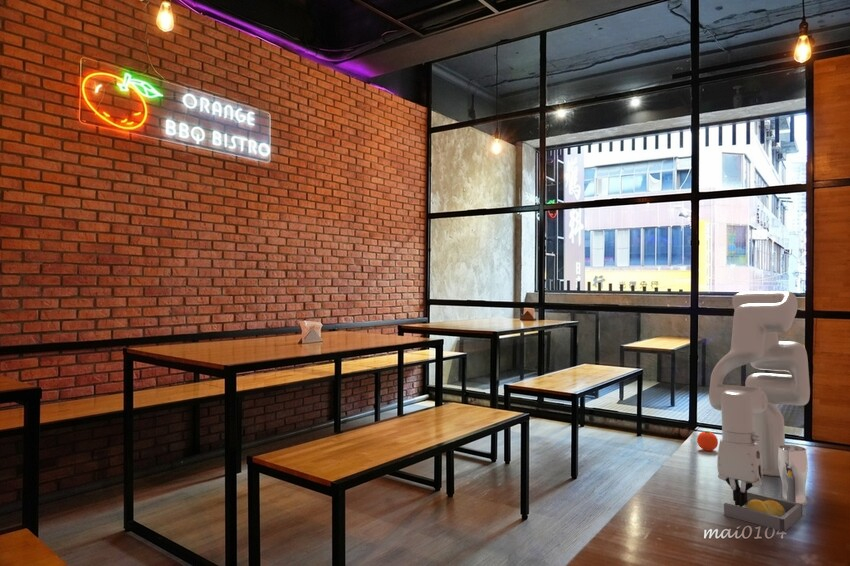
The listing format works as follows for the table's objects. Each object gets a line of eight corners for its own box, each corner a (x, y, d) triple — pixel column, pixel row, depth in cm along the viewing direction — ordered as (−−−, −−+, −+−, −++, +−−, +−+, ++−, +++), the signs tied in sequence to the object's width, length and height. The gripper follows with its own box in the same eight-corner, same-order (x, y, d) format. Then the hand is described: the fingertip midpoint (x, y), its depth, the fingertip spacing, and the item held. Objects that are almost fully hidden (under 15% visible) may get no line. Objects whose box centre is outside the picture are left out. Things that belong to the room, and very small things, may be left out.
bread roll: (743, 508, 151) (742, 493, 151) (781, 512, 148) (780, 497, 148) (749, 520, 143) (748, 504, 143) (789, 524, 140) (789, 508, 140)
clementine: (699, 446, 209) (698, 427, 209) (720, 448, 205) (719, 429, 205) (695, 451, 203) (695, 432, 203) (716, 454, 199) (716, 434, 199)
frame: (744, 501, 155) (744, 490, 155) (802, 515, 144) (802, 504, 144) (724, 515, 146) (723, 503, 146) (784, 531, 135) (784, 519, 135)
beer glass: (814, 507, 150) (812, 451, 150) (785, 505, 151) (783, 451, 151) (802, 497, 156) (800, 444, 157) (775, 496, 158) (773, 444, 158)
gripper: (773, 439, 146) (776, 508, 146) (714, 429, 158) (717, 494, 158) (763, 445, 142) (766, 516, 141) (703, 434, 153) (705, 501, 153)
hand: (740, 504), depth 149 cm, fingers closed
